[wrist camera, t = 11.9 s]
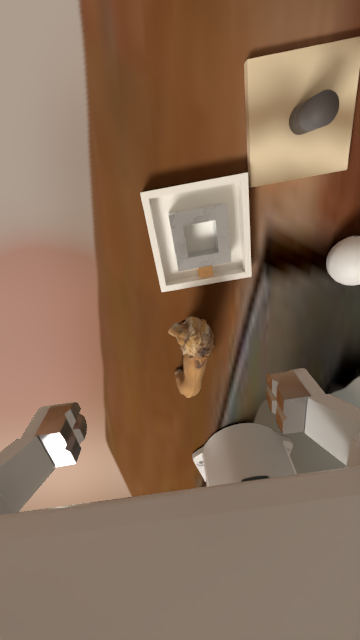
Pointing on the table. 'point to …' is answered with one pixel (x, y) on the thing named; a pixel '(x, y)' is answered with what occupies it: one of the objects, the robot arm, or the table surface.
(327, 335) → the table surface
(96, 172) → the table surface
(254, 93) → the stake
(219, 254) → the ring
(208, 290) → the table surface
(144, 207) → the tray
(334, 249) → the white egg
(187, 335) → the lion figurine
